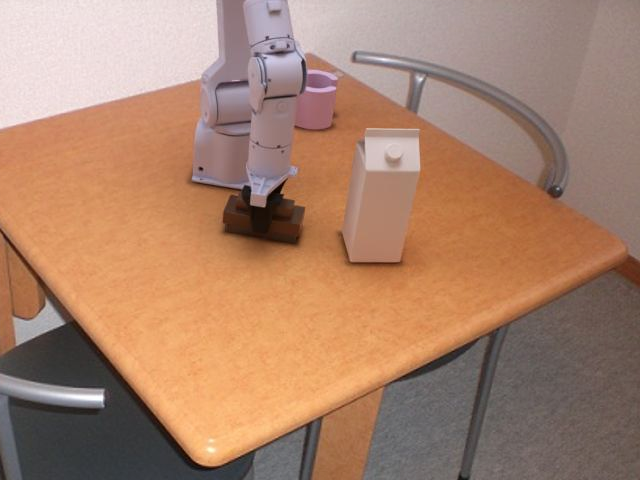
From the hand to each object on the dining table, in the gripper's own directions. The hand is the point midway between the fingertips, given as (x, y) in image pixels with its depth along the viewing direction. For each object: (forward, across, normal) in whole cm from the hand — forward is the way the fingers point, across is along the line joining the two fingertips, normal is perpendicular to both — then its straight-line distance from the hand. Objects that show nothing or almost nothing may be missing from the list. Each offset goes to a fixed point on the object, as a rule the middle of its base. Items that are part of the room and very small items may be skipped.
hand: (263, 221), depth 126 cm
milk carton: (+2, 0, -16) cm, 16 cm away
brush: (+1, 0, 0) cm, 1 cm away
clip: (+2, +35, +5) cm, 35 cm away
